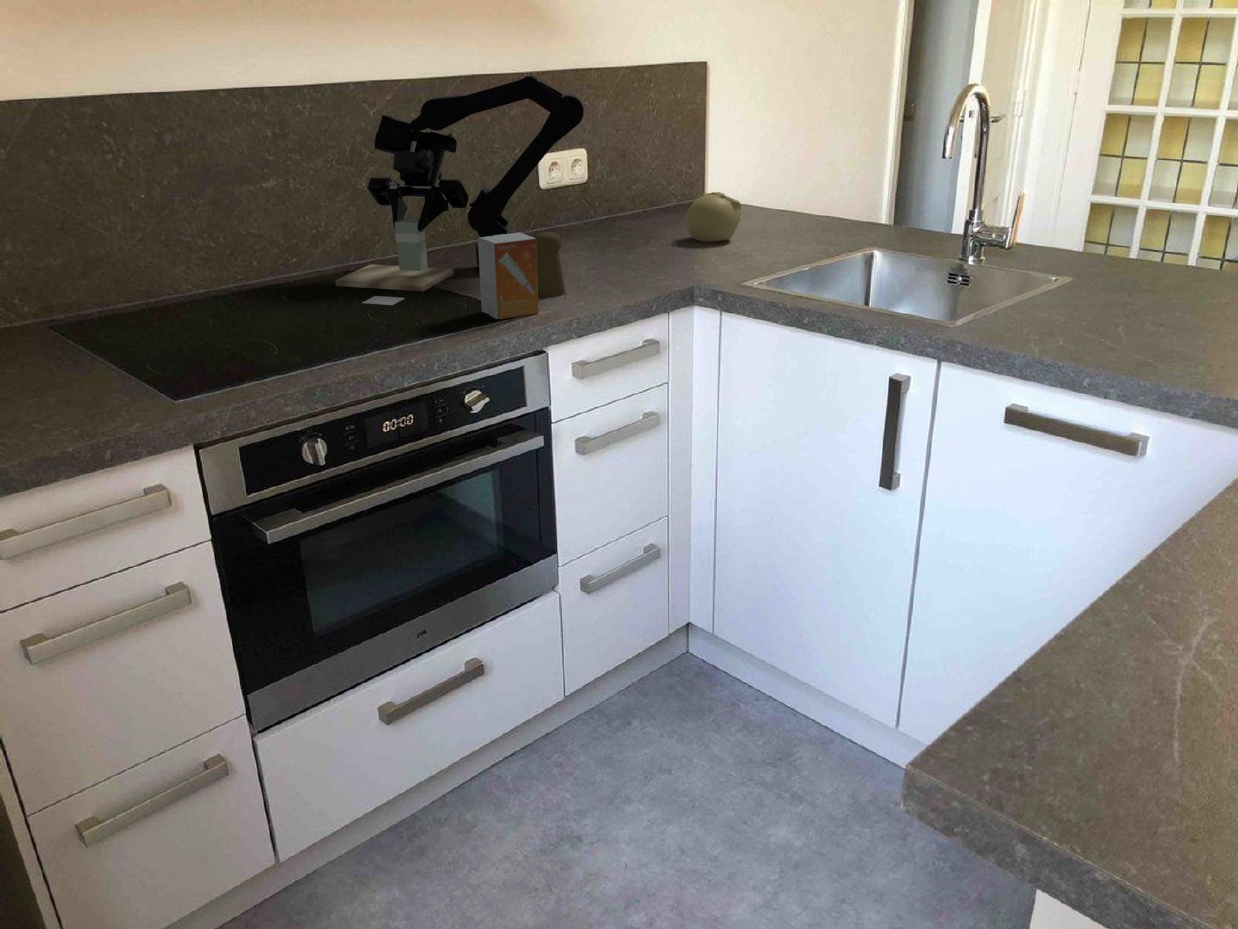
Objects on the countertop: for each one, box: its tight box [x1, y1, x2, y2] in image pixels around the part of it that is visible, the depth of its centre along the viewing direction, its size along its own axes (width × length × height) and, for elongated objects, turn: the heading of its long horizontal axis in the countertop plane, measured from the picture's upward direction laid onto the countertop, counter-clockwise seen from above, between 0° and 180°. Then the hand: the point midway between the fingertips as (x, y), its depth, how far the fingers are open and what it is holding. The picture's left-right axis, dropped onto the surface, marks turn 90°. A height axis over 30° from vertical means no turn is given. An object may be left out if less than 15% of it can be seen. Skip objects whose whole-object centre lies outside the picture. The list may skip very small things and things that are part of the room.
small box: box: [477, 232, 540, 320], centre depth 168 cm, size 8×6×13 cm
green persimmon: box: [685, 191, 742, 243], centre depth 224 cm, size 12×12×11 cm
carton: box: [394, 219, 429, 271], centre depth 188 cm, size 5×3×9 cm
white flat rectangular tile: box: [361, 295, 405, 306], centre depth 178 cm, size 6×5×1 cm
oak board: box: [334, 264, 454, 292], centre depth 192 cm, size 18×14×1 cm
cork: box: [534, 231, 566, 298], centre depth 181 cm, size 6×6×11 cm
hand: (407, 229), depth 186 cm, fingers closed on carton, 4 cm apart
